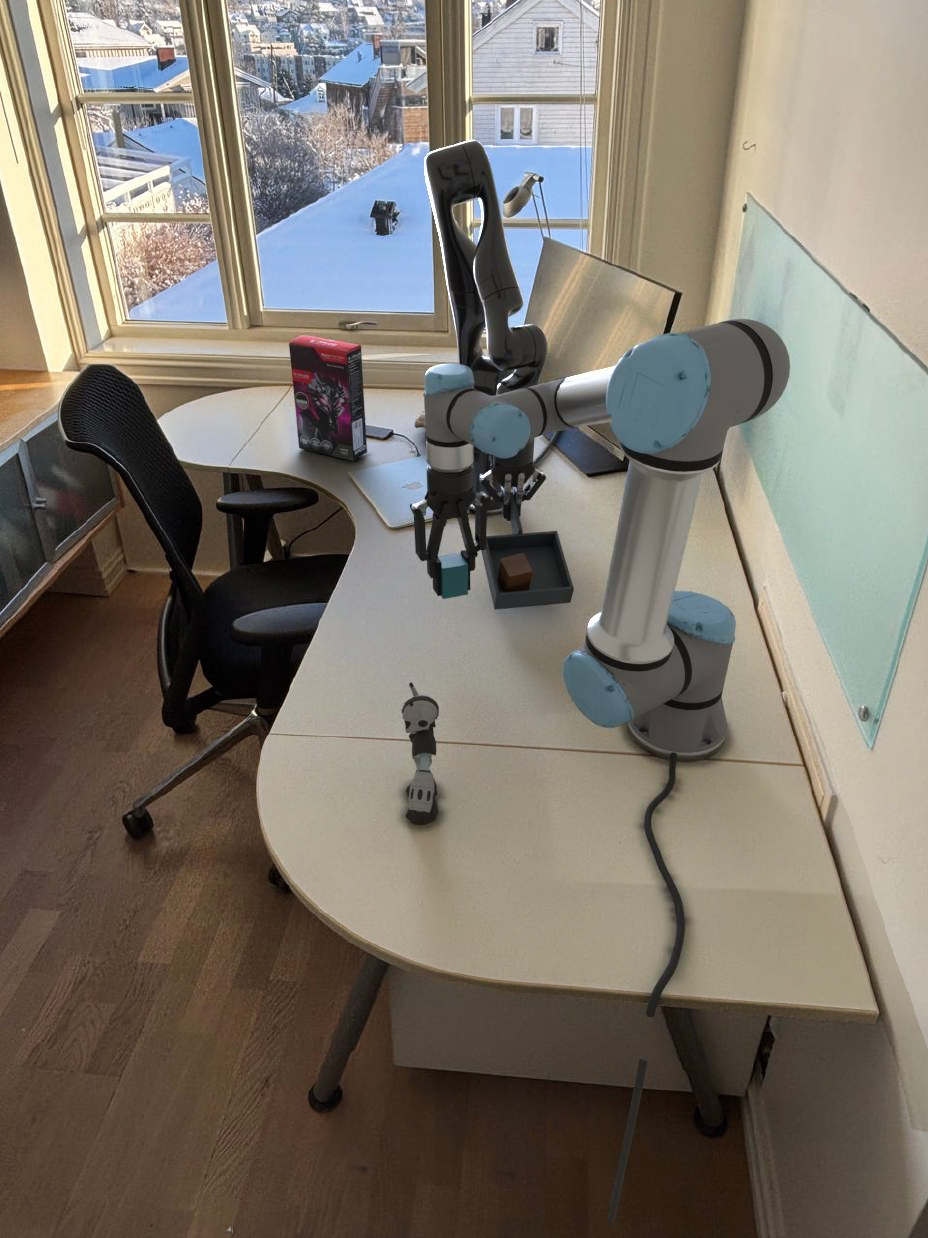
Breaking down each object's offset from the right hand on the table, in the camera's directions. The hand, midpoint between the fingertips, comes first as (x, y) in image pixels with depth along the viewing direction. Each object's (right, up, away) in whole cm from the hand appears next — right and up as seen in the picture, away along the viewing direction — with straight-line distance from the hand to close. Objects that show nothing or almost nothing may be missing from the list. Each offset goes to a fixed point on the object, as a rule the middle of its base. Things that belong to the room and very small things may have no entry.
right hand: (451, 589), depth 159 cm
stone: (-1, +41, +78) cm, 88 cm away
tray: (+13, +7, +15) cm, 21 cm away
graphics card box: (-31, +37, +71) cm, 85 cm away
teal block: (0, 0, 0) cm, 0 cm away
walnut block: (+11, +1, +10) cm, 15 cm away
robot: (-4, -31, -30) cm, 43 cm away
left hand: (+11, +14, +20) cm, 27 cm away
